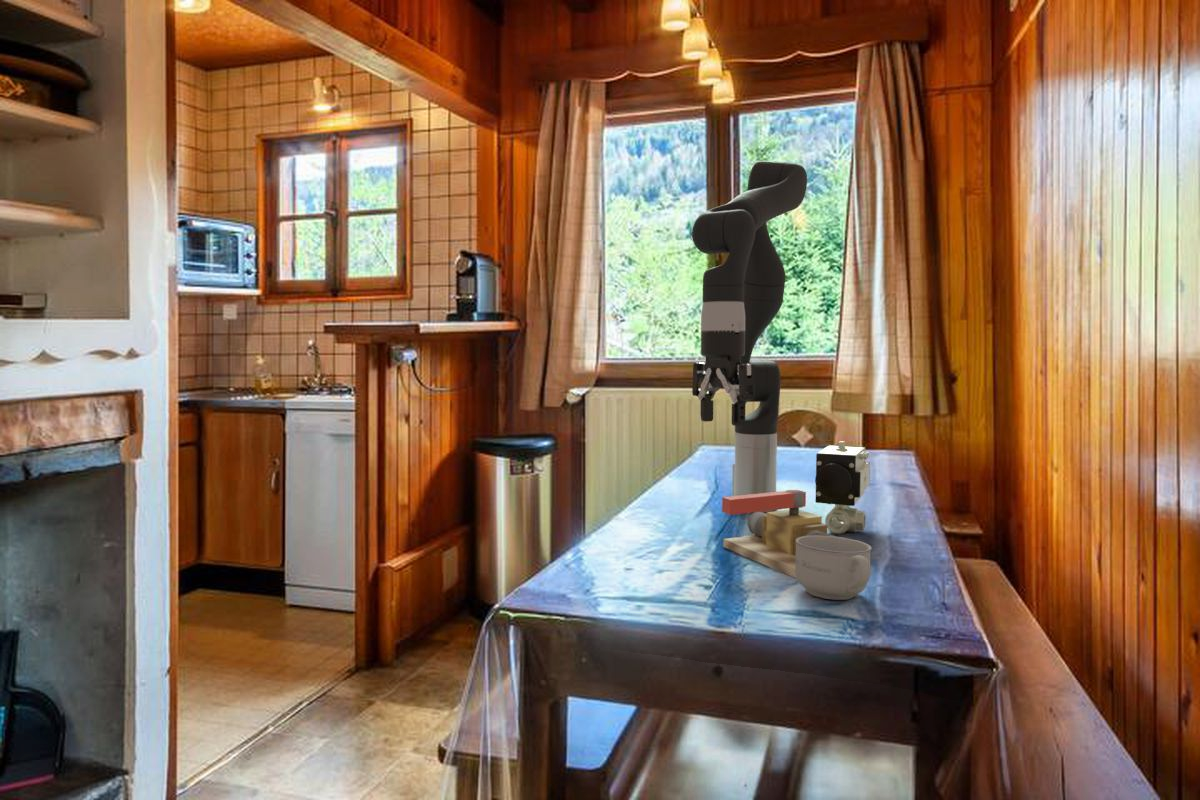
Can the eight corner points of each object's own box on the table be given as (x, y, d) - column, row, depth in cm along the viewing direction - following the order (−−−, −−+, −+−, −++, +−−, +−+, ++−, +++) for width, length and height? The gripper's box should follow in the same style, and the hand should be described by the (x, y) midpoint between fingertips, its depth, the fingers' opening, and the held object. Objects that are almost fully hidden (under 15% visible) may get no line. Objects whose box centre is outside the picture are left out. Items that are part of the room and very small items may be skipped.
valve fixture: (723, 546, 142) (723, 498, 142) (789, 538, 149) (790, 491, 148) (797, 578, 123) (798, 522, 123) (869, 567, 129) (871, 514, 129)
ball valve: (859, 543, 145) (861, 448, 143) (812, 538, 148) (814, 446, 147) (871, 523, 161) (873, 437, 159) (829, 519, 164) (831, 435, 163)
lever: (795, 503, 137) (795, 489, 137) (807, 506, 134) (807, 492, 134) (720, 511, 131) (721, 496, 131) (731, 515, 128) (731, 500, 128)
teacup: (784, 583, 121) (785, 533, 120) (852, 582, 122) (853, 531, 121) (817, 615, 107) (818, 558, 106) (893, 612, 108) (894, 556, 107)
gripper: (680, 329, 138) (680, 421, 139) (732, 327, 126) (731, 428, 127) (714, 330, 142) (713, 419, 143) (768, 328, 129) (766, 425, 130)
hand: (722, 423), depth 135 cm, fingers open, 8 cm apart
